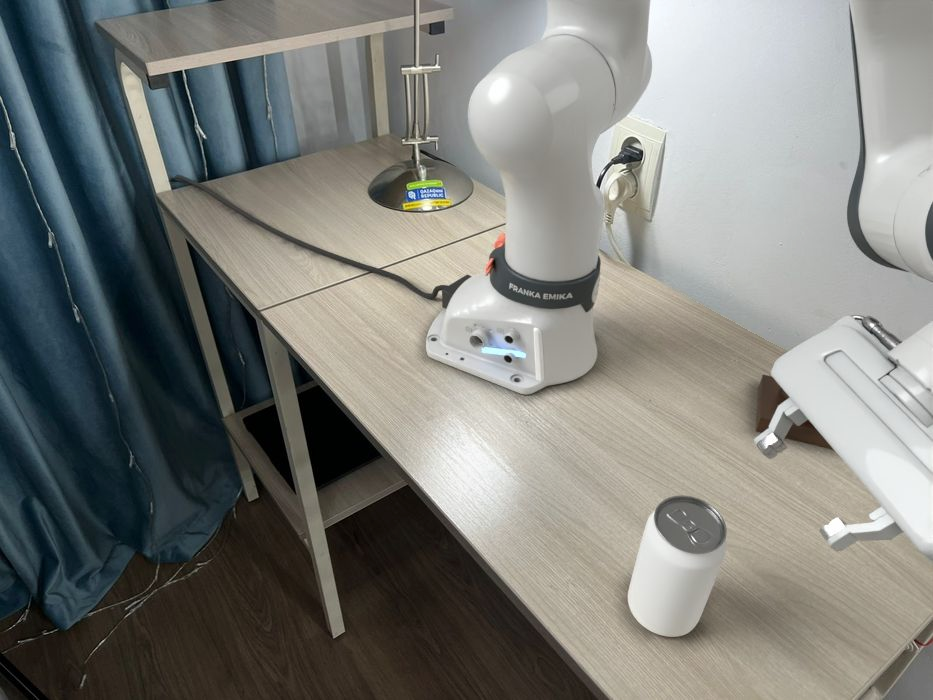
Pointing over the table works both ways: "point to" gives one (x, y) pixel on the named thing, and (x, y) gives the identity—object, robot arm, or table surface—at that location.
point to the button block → (767, 405)
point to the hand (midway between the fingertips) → (792, 492)
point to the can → (677, 565)
